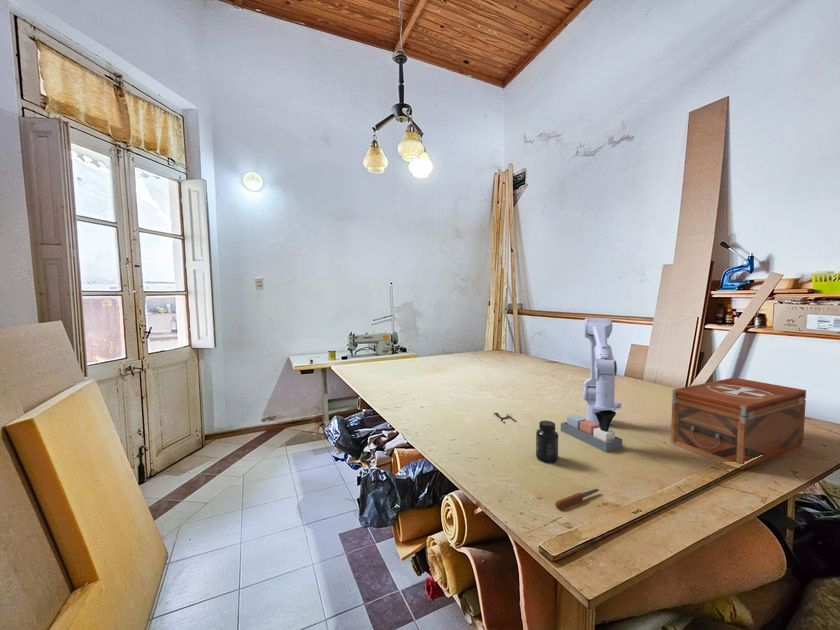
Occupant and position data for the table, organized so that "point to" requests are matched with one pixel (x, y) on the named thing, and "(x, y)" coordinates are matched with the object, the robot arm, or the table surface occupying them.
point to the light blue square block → (575, 421)
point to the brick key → (588, 426)
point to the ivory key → (604, 434)
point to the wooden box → (738, 420)
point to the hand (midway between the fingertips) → (604, 430)
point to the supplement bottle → (547, 442)
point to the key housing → (592, 438)
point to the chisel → (573, 499)
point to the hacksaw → (504, 417)
